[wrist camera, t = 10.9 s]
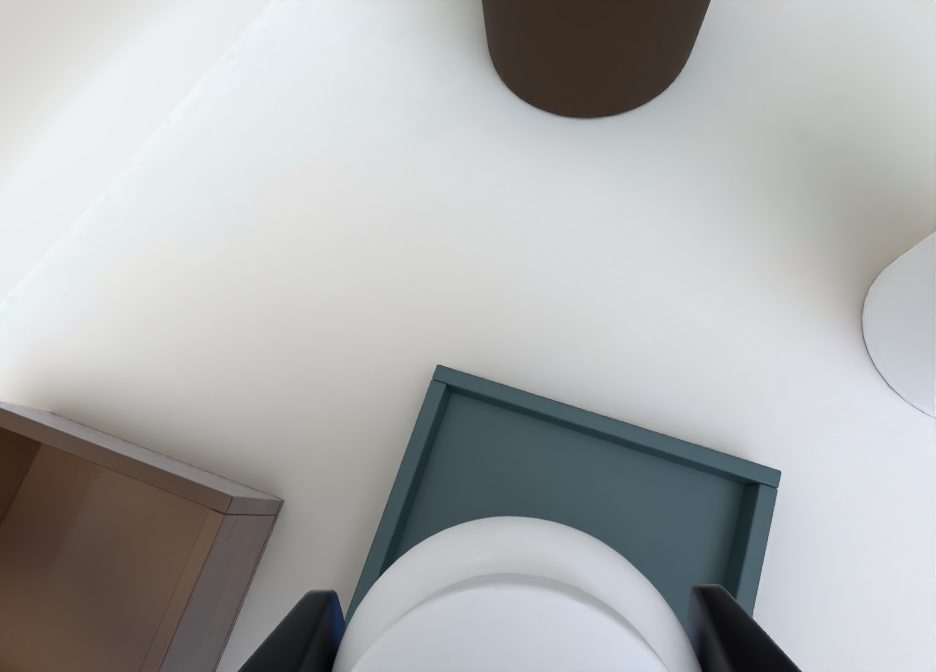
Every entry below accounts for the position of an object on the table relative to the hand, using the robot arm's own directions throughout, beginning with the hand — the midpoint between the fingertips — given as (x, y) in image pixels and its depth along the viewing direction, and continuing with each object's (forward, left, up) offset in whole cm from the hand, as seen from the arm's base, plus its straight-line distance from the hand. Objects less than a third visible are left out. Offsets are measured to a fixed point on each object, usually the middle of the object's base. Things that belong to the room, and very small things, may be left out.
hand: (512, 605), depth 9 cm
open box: (-7, +15, -13) cm, 21 cm away
